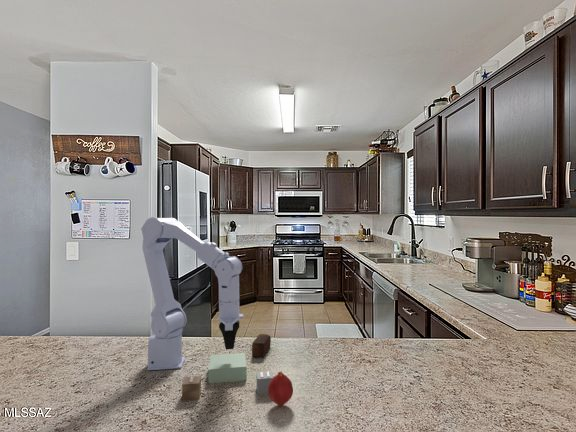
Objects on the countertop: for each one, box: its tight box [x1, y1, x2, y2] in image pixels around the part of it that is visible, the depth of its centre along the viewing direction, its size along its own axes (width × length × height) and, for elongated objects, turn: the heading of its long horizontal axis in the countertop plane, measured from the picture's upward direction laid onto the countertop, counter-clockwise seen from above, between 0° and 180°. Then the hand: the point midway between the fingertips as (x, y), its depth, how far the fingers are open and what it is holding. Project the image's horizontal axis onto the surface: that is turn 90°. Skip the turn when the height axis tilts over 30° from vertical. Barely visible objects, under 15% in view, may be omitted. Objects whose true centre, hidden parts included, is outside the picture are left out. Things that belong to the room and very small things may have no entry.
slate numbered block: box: [256, 370, 274, 396], centre depth 91 cm, size 4×4×4 cm
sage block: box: [207, 352, 248, 384], centre depth 101 cm, size 10×10×4 cm
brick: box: [251, 333, 272, 359], centre depth 117 cm, size 11×4×5 cm, turn 171°
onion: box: [268, 370, 294, 407], centre depth 83 cm, size 6×6×8 cm
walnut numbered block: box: [181, 375, 202, 402], centre depth 88 cm, size 4×4×4 cm
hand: (229, 348), depth 101 cm, fingers closed
